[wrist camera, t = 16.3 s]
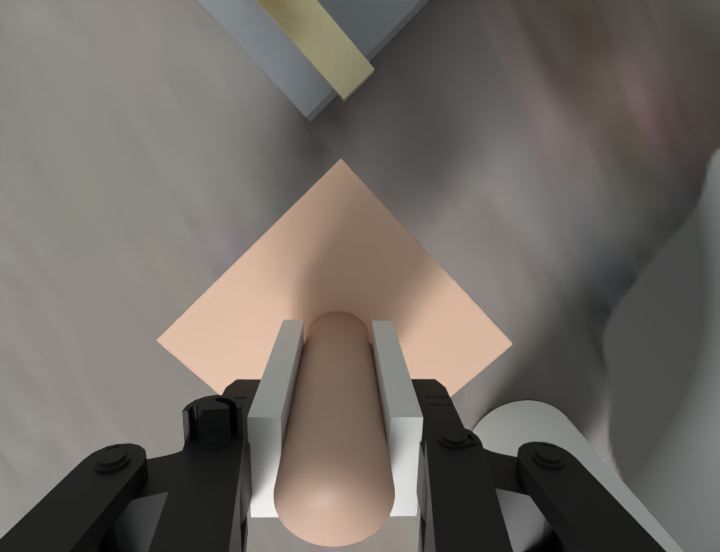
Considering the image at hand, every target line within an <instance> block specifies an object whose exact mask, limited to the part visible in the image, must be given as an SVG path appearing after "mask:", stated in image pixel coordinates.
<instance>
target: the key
mask: <svg viewBox="0 0 720 552" xmlns="http://www.w3.org/2000/svg"><path fill="white" fill-rule="evenodd" d="M255 1H256V2H257V3H258V4H259V6H260V7H261V8H262V9H263V10H264V11H265V12H266V14H267V15H268V16H269V17H270V18H271V19H272V21H273V22H274V23H275V24H276V25H277V26H278V27H279V29H280V30H281V31H282V32H283V33H284V34H285V35H286V37H287V38H288V39H289V40H290V41H291V42H292V43H293V45H294V46H295V47H296V48H297V49H298V50H299V51H300V53H301V54H302V55H303V56H304V57H305V58H306V59H307V61H308V62H309V63H310V64H311V65H312V66H313V67H314V69H315V70H316V71H317V72H318V73H319V74H320V76H321V77H322V78H323V79H324V80H325V81H326V82H327V84H328V85H329V86H330V87H331V88H332V89H333V90H334V92H335V93H336V94H337V95H338V96H339V97H340V98H341V100H342V101H343V102H345V101H346V100H347V99H348V98H349V97H350V96H351V95H352V94H353V93H354V92H355V91H356V90H357V89H358V88H359V87H360V86H361V85H362V84H363V83H364V82H365V81H366V80H367V79H368V78H369V77H370V76H371V75H372V74H373V73H374V70H375V69H374V68H373V66H372V65H371V64H370V63H369V62H368V60H367V59H366V58H365V57H364V56H363V54H362V53H361V52H360V51H359V50H358V48H357V47H356V46H355V45H354V44H353V42H352V41H351V40H350V39H349V38H348V37H347V35H346V34H345V33H344V32H343V31H342V29H341V28H340V27H339V26H338V25H337V23H336V22H335V21H334V20H333V19H332V17H331V16H330V15H329V14H328V13H327V12H326V10H325V9H324V8H323V7H322V6H321V4H320V3H319V2H318V1H317V0H255Z"/></svg>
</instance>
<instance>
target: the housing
mask: <svg viewBox="0 0 720 552" xmlns="http://www.w3.org/2000/svg"><path fill="white" fill-rule="evenodd" d="M197 1H198V2H199V3H200V4H201V5H202V6H203V7H204V8H205V9H206V10H207V11H208V13H209V14H210V15H211V16H212V17H213V18H214V19H215V20H216V21H217V22H218V23H219V24H220V26H221V27H222V28H223V29H224V30H225V31H226V32H227V33H228V34H229V35H230V36H231V37H232V38H233V40H234V41H235V42H236V43H237V44H238V45H239V46H240V47H241V48H242V49H243V50H244V51H245V52H246V54H247V55H248V56H249V57H250V58H251V59H252V60H253V61H254V62H255V63H256V64H257V65H258V66H259V68H260V69H261V70H262V71H263V72H264V73H265V74H266V75H267V76H268V77H269V78H270V79H271V80H272V82H273V83H274V84H275V85H276V86H277V87H278V88H279V89H280V90H281V91H282V92H283V93H284V95H285V96H286V97H287V98H288V99H289V100H290V101H291V102H292V103H293V104H294V105H295V106H296V107H297V109H298V110H299V111H300V112H301V113H302V114H303V115H304V116H305V117H306V118H307V119H308V120H309V121H310V122H311V121H312V120H313V119H314V118H315V117H316V116H317V115H318V114H319V113H320V112H321V111H322V110H323V109H324V108H325V107H326V106H327V105H328V104H329V103H330V102H331V101H332V100H333V99H334V98H335V97H336V96H337V94H336V93H335V92H334V90H333V89H332V88H331V87H330V86H329V85H328V84H327V82H326V81H325V80H324V79H323V78H322V77H321V76H320V74H319V73H318V72H317V71H316V70H315V69H314V67H313V66H312V65H311V64H310V63H309V62H308V61H307V59H306V58H305V57H304V56H303V55H302V54H301V53H300V51H299V50H298V49H297V48H296V47H295V46H294V45H293V43H292V42H291V41H290V40H289V39H288V38H287V37H286V35H285V34H284V33H283V32H282V31H281V30H280V29H279V27H278V26H277V25H276V24H275V23H274V22H273V21H272V19H271V18H270V17H269V16H268V15H267V14H266V12H265V11H264V10H263V9H262V8H261V7H260V6H259V4H258V3H257V2H256V1H255V0H197ZM317 1H318V2H319V3H320V4H321V6H322V7H323V8H324V9H325V10H326V12H327V13H328V14H329V15H330V16H331V17H332V19H333V20H334V21H335V22H336V23H337V25H338V26H339V27H340V28H341V29H342V31H343V32H344V33H345V34H346V35H347V37H348V38H349V39H350V40H351V41H352V42H353V44H354V45H355V46H356V47H357V48H358V50H359V51H360V52H361V53H362V54H363V56H364V57H365V58H366V59H367V60H368V62H370V61H371V60H372V59H373V58H374V57H375V56H376V55H377V54H378V53H379V52H380V51H381V50H382V49H383V48H384V47H385V46H386V45H387V44H388V43H389V41H390V40H391V39H392V38H393V37H394V36H395V35H396V34H397V33H398V32H399V31H400V30H401V29H402V28H403V27H404V26H405V25H406V24H407V23H408V22H409V21H410V20H411V19H412V18H413V17H414V16H415V15H416V14H417V13H418V12H419V11H420V10H421V9H422V8H423V7H424V6H425V5H426V4H427V3H428V2H429V1H430V0H317Z"/></svg>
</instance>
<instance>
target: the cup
mask: <svg viewBox="0 0 720 552" xmlns="http://www.w3.org/2000/svg"><path fill="white" fill-rule="evenodd" d="M472 432H473V433H474V434H476V435H477V436H478V437H479V439H480V440H481V442H482V445H483V448H485V449H487V450H489V451H492V452H496V453H500V454H505V455H510V456H515V457H517V453H518V448H519V447H520V446H521V445H523V444H524V443H528V442H533V441H535V442H547V443H551V444H555V445H557V446H559V447H561V448H563V449H565V450H567V451H568V452H570V453H571V454H572V455H573V456H575V457H576V458H577V459H578V460H579V461H580V462H581V463H582V464H583V466H584V467H585V468H586V469H587V470H588V471H589V472H590V473H591V474H592V475H593V476H594V477H595V478H596V479H597V480H598V481H599V482H600V483H601V484H602V485H603V486H604V487H605V488H606V489H607V490H608V491H609V493H610V494H611V495H612V496H613V497H614V498H615V499H616V500H617V501H618V502H619V503H620V504H621V505H622V506H623V507H624V508H625V509H626V510H627V511H628V512H629V513H630V514H631V515H632V516H633V517H634V518H635V519H636V521H637V522H638V523H639V524H640V525H641V526H642V527H643V528H644V529H645V530H646V531H647V532H648V533H649V534H650V535H651V536H652V537H653V538H654V539H655V540H656V541H657V542H658V543H659V544H660V545H661V546H662V548H663V549H664V550H665V551H666V552H683V551H682V550H681V548H680V547H679V546H678V545H677V544H676V543H675V542H674V540H673V539H672V538H671V537H670V536H669V535H668V534H667V532H666V531H665V530H664V529H663V528H662V527H661V525H660V524H659V523H658V522H657V521H656V520H655V518H654V517H653V516H652V515H651V514H650V513H649V512H648V511H647V509H646V508H645V507H644V506H643V505H642V504H641V502H640V501H639V500H638V499H637V498H636V497H635V495H634V494H633V493H632V492H631V491H630V490H629V488H628V487H627V486H626V485H625V484H624V483H623V481H622V480H621V479H620V478H619V477H618V476H617V475H616V473H615V472H614V471H613V470H612V469H611V468H610V466H609V465H608V464H607V463H606V462H605V461H604V460H603V458H602V457H601V456H600V455H599V454H598V453H597V451H596V450H595V449H594V448H593V447H592V446H591V445H590V443H589V442H588V441H587V440H586V439H585V438H584V436H583V435H582V434H581V433H580V432H579V431H578V430H577V428H576V427H575V426H574V425H573V424H572V423H571V421H570V420H569V419H568V418H567V417H566V416H565V415H564V414H563V413H562V412H561V411H560V410H558V409H557V408H555V407H553V406H551V405H549V404H546V403H543V402H539V401H531V400H523V401H516V402H511V403H508V404H505V405H502V406H500V407H498V408H496V409H494V410H493V411H491V412H490V413H488V414H487V415H486V416H485V417H484V418H483V419H482V420H481V421H480V422H479V423H478V424H477V425H476V427H475V428H474V430H473V431H472Z"/></svg>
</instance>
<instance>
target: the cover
mask: <svg viewBox="0 0 720 552" xmlns="http://www.w3.org/2000/svg"><path fill="white" fill-rule="evenodd" d="M283 319H284V320H304V347H303V352H302V356H301V361H300V366H299V371H298V376H297V381H296V385H295V390H294V395H293V400H292V405H291V410H290V414H289V419H288V424H287V429H286V434H285V439H284V444H283V448H282V453H281V458H280V462H279V467H278V472H277V477H276V482H275V486H274V495H273V498H274V505H275V509H276V512H277V514H278V517H279V518H280V520H281V521H282V523H283V524H284V525H285V527H286V528H287V529H288V530H289V531H291V532H292V533H293V534H294V535H296V536H297V537H299V538H301V539H303V540H305V541H307V542H310V543H313V544H316V545H321V546H333V547H334V546H345V545H350V544H353V543H357V542H359V541H362V540H364V539H366V538H367V537H369V536H371V535H372V534H374V533H375V532H376V531H377V530H378V529H380V528H381V527H382V525H383V524H384V523H385V522H386V520H387V519H388V517H389V516H390V513H391V511H392V509H393V505H394V500H395V487H394V481H393V475H392V469H391V463H390V457H389V451H388V445H387V439H386V433H385V427H384V420H383V414H382V408H381V402H380V396H379V389H378V383H377V377H376V371H375V365H374V359H373V352H372V346H371V338H372V320H374V321H393V324H394V327H395V331H396V334H397V337H398V340H399V343H400V346H401V349H402V353H403V356H404V359H405V362H406V365H407V368H408V371H409V375H410V378H411V379H436V380H437V381H438V382H440V383H441V384H442V385H443V386H445V387H446V389H447V391H448V394H449V396H450V397H451V396H452V395H453V394H454V393H456V392H457V391H458V390H459V389H460V388H462V387H463V386H464V385H465V384H466V383H467V382H469V381H470V380H471V379H472V378H473V377H475V376H476V375H477V374H478V373H479V372H481V371H482V370H483V369H484V368H485V367H486V366H488V365H489V364H490V363H491V362H492V361H494V360H495V359H496V358H497V357H498V356H500V355H501V354H502V353H503V352H504V351H505V350H507V349H508V348H509V347H510V346H511V345H513V344H512V343H511V341H510V340H509V339H508V338H507V337H506V336H505V335H504V334H503V333H502V332H501V331H500V330H499V328H498V327H497V326H496V325H495V324H494V323H493V322H492V321H491V320H490V319H489V318H488V317H487V316H486V314H485V313H484V312H483V311H482V310H481V309H480V308H479V307H478V306H477V305H476V304H475V303H474V302H473V300H472V299H471V298H470V297H469V296H468V295H467V294H466V293H465V292H464V291H463V290H462V289H461V287H460V286H459V285H458V284H457V283H456V282H455V281H454V280H453V279H452V278H451V277H450V276H449V275H448V273H447V272H446V271H445V270H444V269H443V268H442V267H441V266H440V265H439V264H438V263H437V262H436V260H435V259H434V258H433V257H432V256H431V255H430V254H429V253H428V252H427V251H426V250H425V249H424V248H423V246H422V245H421V244H420V243H419V242H418V241H417V240H416V239H415V238H414V237H413V236H412V235H411V233H410V232H409V231H408V230H407V229H406V228H405V227H404V226H403V225H402V224H401V223H400V222H399V221H398V219H397V218H396V217H395V216H394V215H393V214H392V213H391V212H390V211H389V210H388V209H387V208H386V207H385V205H384V204H383V203H382V202H381V201H380V200H379V199H378V198H377V197H376V196H375V195H374V194H373V192H372V191H371V190H370V189H369V188H368V187H367V186H366V185H365V184H364V183H363V182H362V181H361V180H360V178H359V177H358V176H357V175H356V174H355V173H354V172H353V171H352V170H351V169H350V168H349V167H348V165H347V164H346V163H345V162H344V161H343V160H342V159H340V160H339V161H338V162H337V163H336V164H335V165H334V166H333V167H332V168H331V169H330V170H329V171H328V172H327V173H326V174H325V175H324V176H323V177H322V178H321V179H320V180H319V181H317V182H316V183H315V184H314V185H313V186H312V187H311V188H310V189H309V190H308V191H307V192H306V193H305V194H304V195H303V196H302V197H301V198H300V199H299V200H298V201H297V202H296V203H295V204H294V205H293V206H292V207H291V208H290V209H289V210H288V211H287V212H286V213H285V214H284V215H283V216H282V217H281V218H280V219H279V220H278V221H277V222H276V223H275V224H274V225H273V226H272V227H271V228H270V229H269V230H268V231H267V232H266V233H265V234H264V235H263V236H262V237H261V238H260V239H259V240H258V241H257V242H256V243H255V244H254V245H253V246H252V247H251V248H250V249H249V250H248V251H247V252H246V253H245V254H244V255H243V256H241V257H240V258H239V259H238V260H237V261H236V262H235V263H234V264H233V265H232V266H231V267H230V268H229V269H228V270H227V271H226V272H225V273H224V274H223V275H222V276H221V277H220V278H219V279H218V280H217V281H216V282H215V283H214V284H213V285H212V286H211V287H210V288H209V289H208V290H207V291H206V292H205V293H204V294H203V295H202V296H201V297H200V298H199V299H198V300H197V301H196V302H195V303H194V304H193V305H192V306H191V307H190V308H189V309H188V310H187V311H186V312H185V313H184V314H183V315H182V316H181V317H180V318H179V319H178V320H177V321H176V322H175V323H174V324H173V325H172V326H171V327H170V328H169V329H168V330H167V331H165V332H164V333H163V334H162V335H161V336H160V337H159V338H158V339H157V340H156V341H158V342H159V343H160V344H161V345H162V346H163V347H165V348H166V349H167V350H168V351H169V352H170V353H172V354H173V355H174V356H175V357H176V358H177V359H179V360H180V361H181V362H182V363H183V364H184V365H186V366H187V367H188V368H189V369H190V370H191V371H193V372H194V373H195V374H196V375H197V376H198V377H200V378H201V379H202V380H203V381H204V382H206V383H207V384H208V385H209V386H210V387H211V388H213V389H214V390H215V391H216V392H217V393H218V394H220V395H222V394H223V392H224V390H225V388H226V387H227V386H228V385H230V384H231V383H232V382H234V381H235V380H236V379H261V378H262V376H263V373H264V370H265V368H266V365H267V362H268V359H269V357H270V354H271V351H272V349H273V346H274V343H275V341H276V338H277V335H278V332H279V330H280V327H281V324H282V322H283Z"/></svg>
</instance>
